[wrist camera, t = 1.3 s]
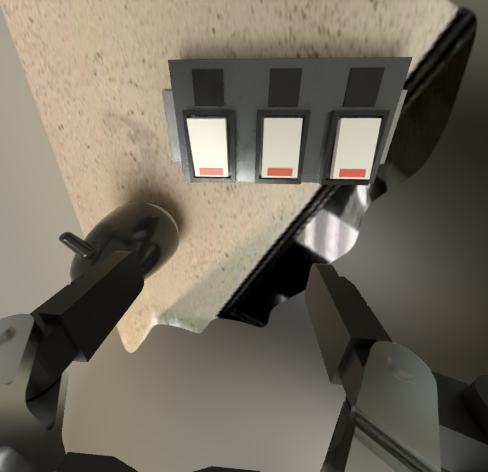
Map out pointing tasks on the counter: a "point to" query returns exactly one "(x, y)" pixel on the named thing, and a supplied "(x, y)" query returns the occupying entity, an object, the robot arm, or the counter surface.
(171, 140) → the rocker switch box
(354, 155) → the rocker
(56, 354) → the robot arm
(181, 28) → the counter surface
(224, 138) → the rocker
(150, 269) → the pump dispenser
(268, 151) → the middle rocker
